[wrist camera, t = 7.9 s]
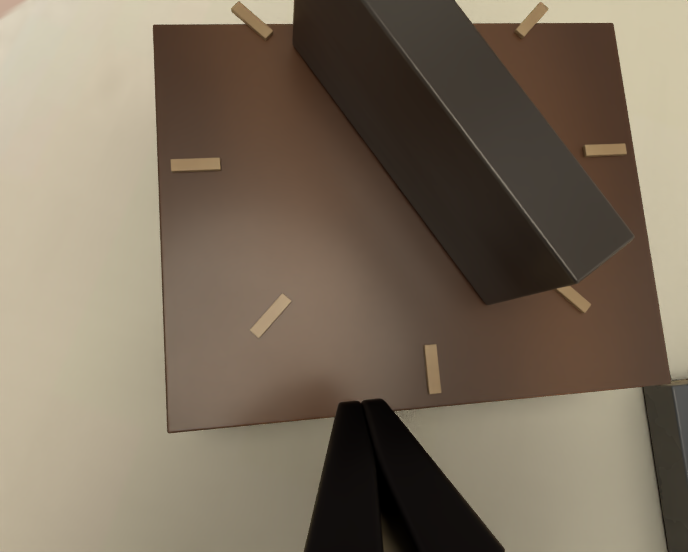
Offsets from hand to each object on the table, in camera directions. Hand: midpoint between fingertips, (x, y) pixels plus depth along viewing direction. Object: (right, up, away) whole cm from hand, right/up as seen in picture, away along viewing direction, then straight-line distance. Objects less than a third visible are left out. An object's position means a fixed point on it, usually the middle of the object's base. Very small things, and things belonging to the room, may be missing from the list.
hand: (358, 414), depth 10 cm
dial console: (+1, +5, +11) cm, 13 cm away
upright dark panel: (+2, +6, +7) cm, 9 cm away
